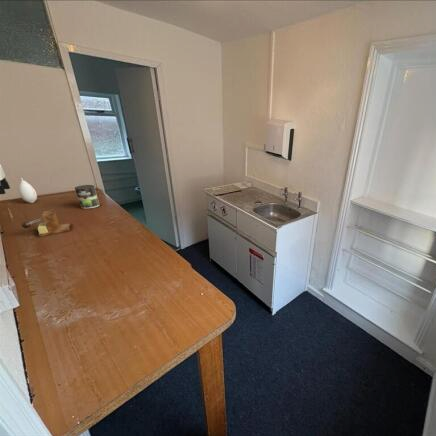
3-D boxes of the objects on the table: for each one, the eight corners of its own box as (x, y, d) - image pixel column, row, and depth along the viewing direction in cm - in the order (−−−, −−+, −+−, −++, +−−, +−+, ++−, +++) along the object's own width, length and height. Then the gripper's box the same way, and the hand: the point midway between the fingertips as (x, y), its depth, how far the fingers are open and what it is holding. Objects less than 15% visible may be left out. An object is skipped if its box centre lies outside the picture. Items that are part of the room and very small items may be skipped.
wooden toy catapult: (39, 236, 122) (30, 217, 117) (41, 230, 128) (33, 212, 124) (69, 230, 129) (63, 212, 125) (70, 225, 135) (63, 207, 131)
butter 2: (39, 233, 122) (37, 228, 121) (40, 231, 124) (38, 226, 123) (47, 232, 123) (45, 227, 122) (48, 229, 126) (46, 225, 125)
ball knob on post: (24, 229, 119) (19, 225, 118) (25, 227, 122) (20, 222, 120) (54, 217, 125) (50, 212, 123) (55, 215, 127) (50, 210, 126)
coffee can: (97, 207, 161) (91, 188, 155) (78, 209, 157) (71, 189, 151) (101, 203, 169) (96, 184, 164) (84, 204, 165) (77, 185, 160)
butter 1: (40, 230, 125) (38, 225, 124) (41, 228, 127) (39, 223, 126) (48, 229, 127) (46, 224, 126) (49, 227, 129) (47, 222, 128)
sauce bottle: (24, 201, 165) (13, 177, 158) (39, 199, 170) (30, 175, 163) (23, 204, 160) (12, 179, 153) (39, 202, 165) (29, 177, 158)
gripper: (-21, 153, 109) (-5, 188, 115) (-34, 158, 97) (-15, 197, 103) (3, 152, 113) (18, 186, 120) (-6, 157, 101) (11, 195, 108)
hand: (3, 191), depth 112 cm, fingers open, 9 cm apart
